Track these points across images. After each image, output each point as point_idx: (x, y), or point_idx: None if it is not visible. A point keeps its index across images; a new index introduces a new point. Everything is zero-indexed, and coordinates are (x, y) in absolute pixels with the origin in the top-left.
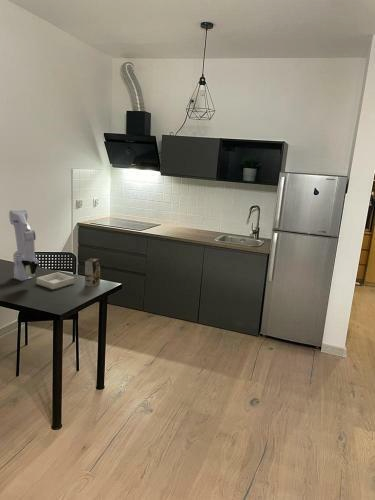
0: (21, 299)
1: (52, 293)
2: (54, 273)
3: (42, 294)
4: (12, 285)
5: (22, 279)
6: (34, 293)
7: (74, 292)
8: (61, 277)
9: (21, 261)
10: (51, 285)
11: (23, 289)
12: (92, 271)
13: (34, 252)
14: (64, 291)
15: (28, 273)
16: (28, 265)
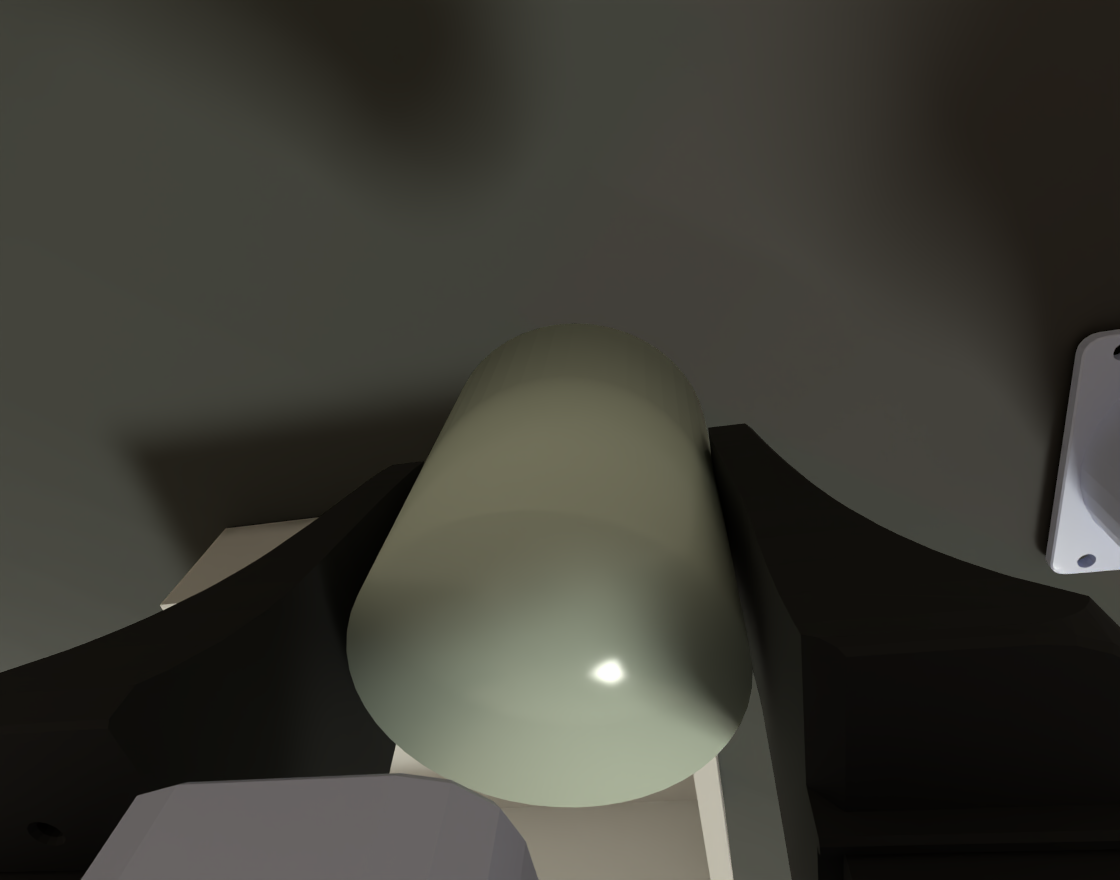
0: None
1: (59, 442)
2: (708, 845)
3: (59, 295)
4: (972, 13)
5: (1115, 377)
6: (165, 200)
7: (11, 662)
8: (612, 825)
9: (1032, 628)
10: (235, 565)
11: (517, 119)
12: None
13: None
14: (95, 599)
15: (463, 401)
16: (650, 665)
